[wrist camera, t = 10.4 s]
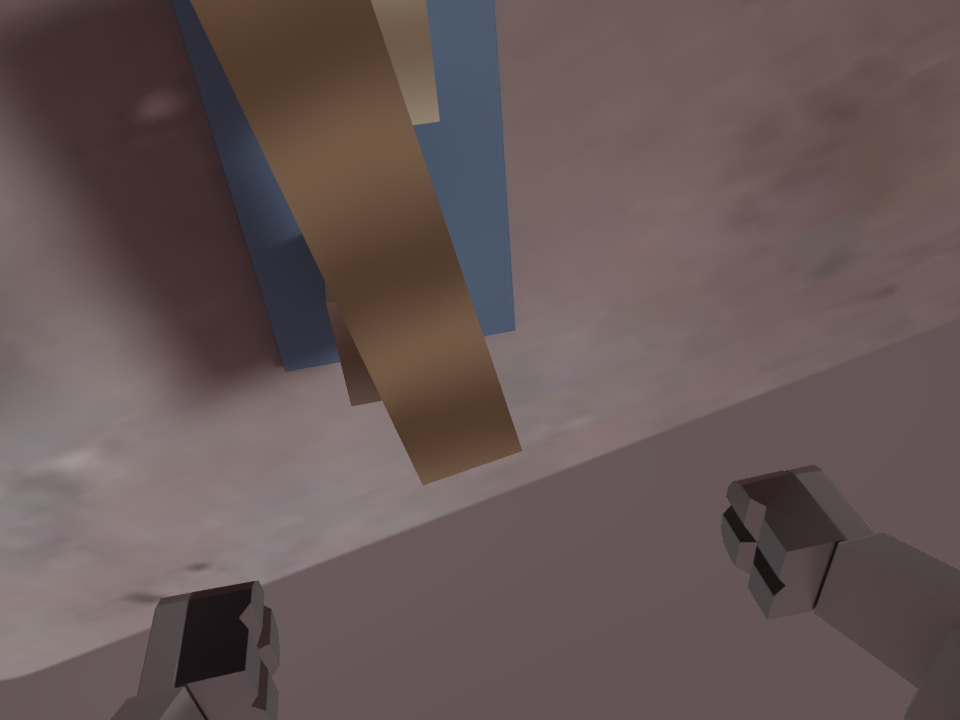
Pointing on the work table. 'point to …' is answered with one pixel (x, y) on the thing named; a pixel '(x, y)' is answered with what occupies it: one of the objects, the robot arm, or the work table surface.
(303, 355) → the board
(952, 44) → the work table surface
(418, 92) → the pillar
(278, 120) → the beam
